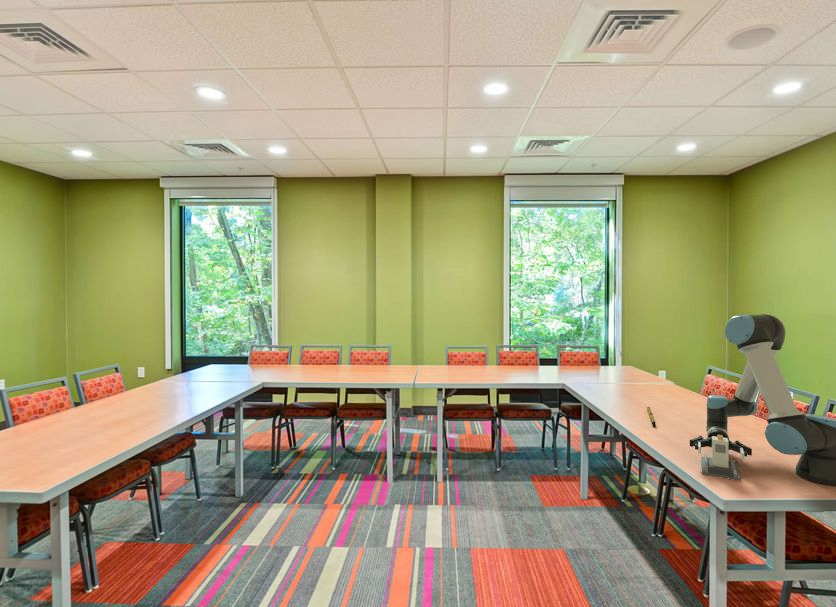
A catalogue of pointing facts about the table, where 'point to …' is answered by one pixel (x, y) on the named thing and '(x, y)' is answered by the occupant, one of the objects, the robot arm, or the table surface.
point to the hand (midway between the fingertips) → (720, 453)
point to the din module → (720, 451)
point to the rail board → (720, 469)
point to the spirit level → (651, 416)
